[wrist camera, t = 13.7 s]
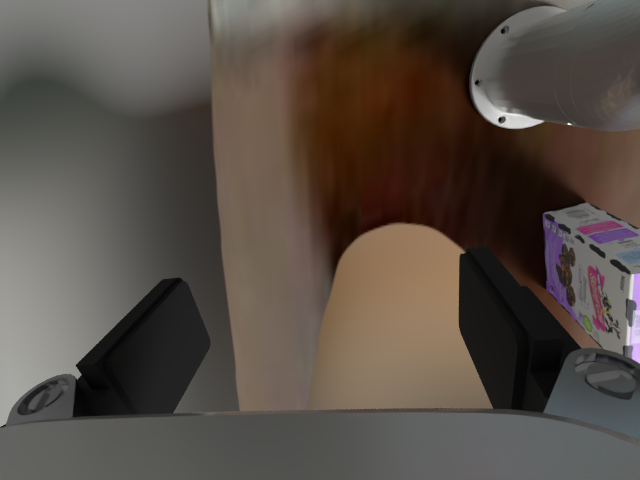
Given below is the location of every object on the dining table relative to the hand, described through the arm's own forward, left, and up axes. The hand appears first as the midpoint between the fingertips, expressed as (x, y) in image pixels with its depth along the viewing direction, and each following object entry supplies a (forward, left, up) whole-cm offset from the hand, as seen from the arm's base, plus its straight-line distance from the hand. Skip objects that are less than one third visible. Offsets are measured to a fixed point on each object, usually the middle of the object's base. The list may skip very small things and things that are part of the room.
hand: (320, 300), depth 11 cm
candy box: (-29, +21, -36) cm, 51 cm away
